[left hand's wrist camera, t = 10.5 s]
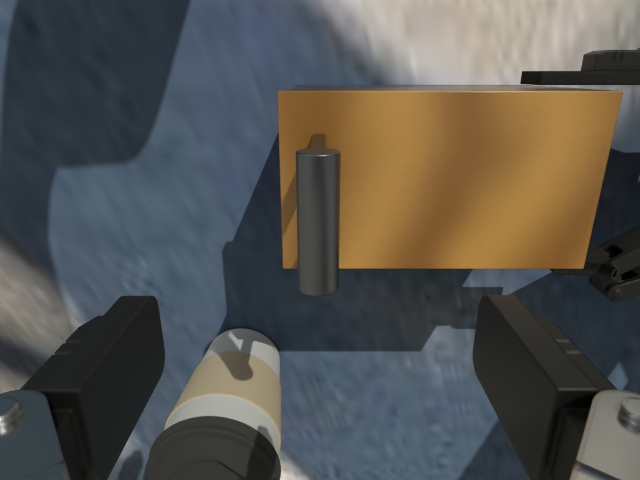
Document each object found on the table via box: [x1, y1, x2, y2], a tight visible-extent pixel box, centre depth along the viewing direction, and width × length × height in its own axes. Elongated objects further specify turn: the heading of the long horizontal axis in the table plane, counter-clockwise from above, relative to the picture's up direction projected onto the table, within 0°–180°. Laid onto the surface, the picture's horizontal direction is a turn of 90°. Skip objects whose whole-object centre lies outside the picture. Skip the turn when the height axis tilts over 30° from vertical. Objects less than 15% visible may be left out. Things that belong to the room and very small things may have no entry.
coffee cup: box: [147, 328, 281, 480], centre depth 36 cm, size 9×9×15 cm
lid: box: [278, 91, 623, 296], centre depth 22 cm, size 18×10×8 cm, turn 90°
